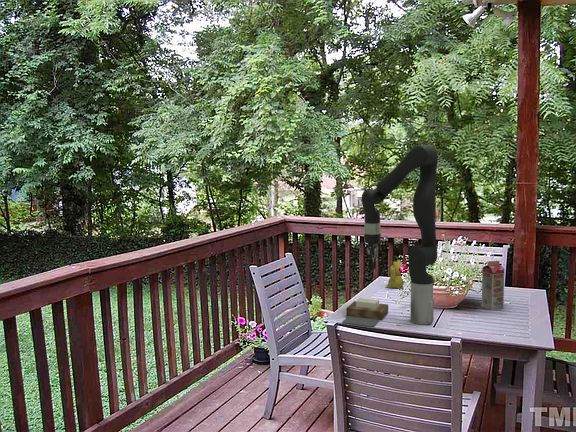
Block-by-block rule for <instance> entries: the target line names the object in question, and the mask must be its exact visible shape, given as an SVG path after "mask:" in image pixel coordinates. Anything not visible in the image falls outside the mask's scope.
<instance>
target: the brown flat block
mask: <svg viewBox="0 0 576 432" xmlns="http://www.w3.org/2000/svg"><path fill="white" fill-rule="evenodd" d="M356 301H357V300H354V301H352V302H351V303H350V304H349V305H348V306H347V307H346V309H345V310H346V311H345V312H346V318H347V317H348V316H353V317H362V318H371V319H379V321H383V320H384V319H385V318H386V317H387V315H388V314H389V304H386V303H379V306H378V307H377V308H376V309H371V308H362V307H356Z"/></svg>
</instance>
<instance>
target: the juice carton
mask: <svg viewBox="0 0 576 432" xmlns="http://www.w3.org/2000/svg"><path fill="white" fill-rule="evenodd" d="M500 263H501V262H500V260H491V261H487V263H486V264H487V265H484V266H483V267H482V271H481V273H482V276H481V277H482V279H481V307H482V308H485V309H487V310H490V311H496V310H503V309H504V299H505V298H504V296H505V295H504V294H505V293H504V292H505V268H504V267H503V266H502V265H501V264H500Z"/></svg>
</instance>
